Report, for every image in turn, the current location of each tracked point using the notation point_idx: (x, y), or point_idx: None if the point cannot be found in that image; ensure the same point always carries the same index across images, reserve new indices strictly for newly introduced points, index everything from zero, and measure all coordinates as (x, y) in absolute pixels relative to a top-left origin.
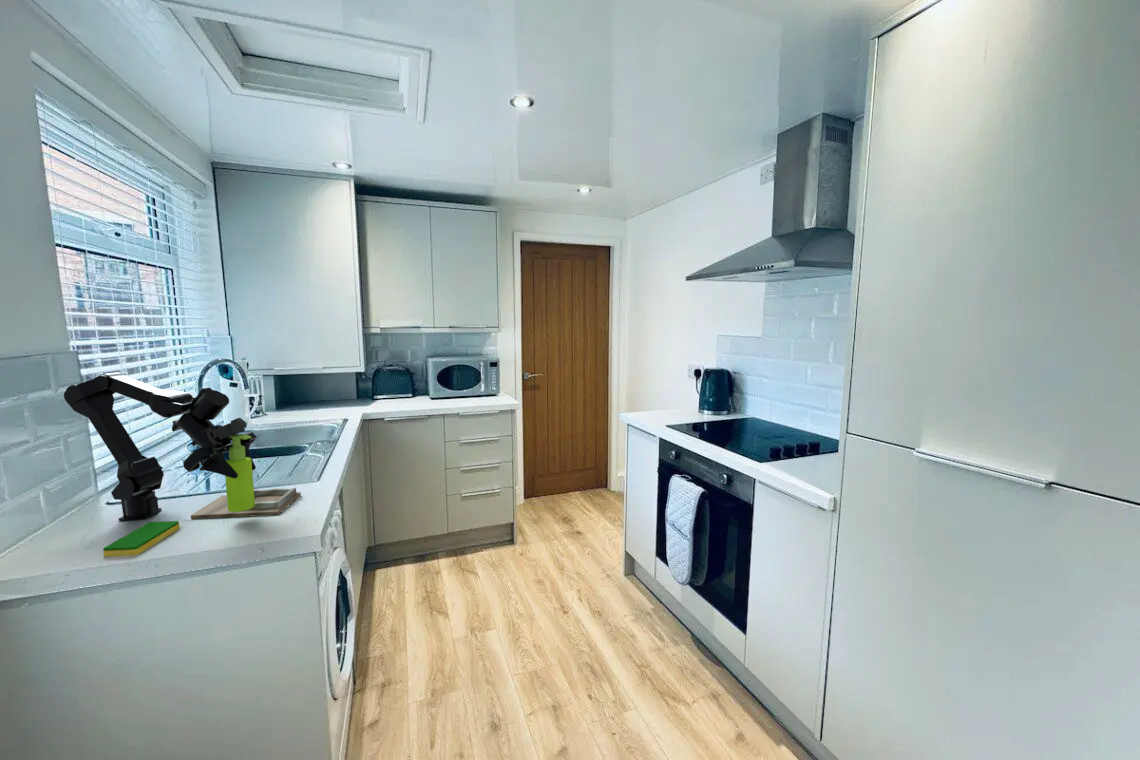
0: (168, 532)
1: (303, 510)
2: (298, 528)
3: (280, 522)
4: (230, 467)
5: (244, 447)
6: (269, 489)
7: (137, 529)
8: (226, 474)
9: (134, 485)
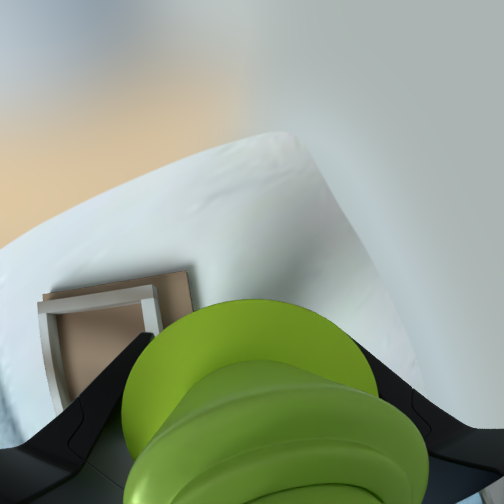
0: None
1: (153, 217)
2: (271, 166)
3: (240, 232)
4: (379, 382)
5: (211, 404)
6: (52, 388)
7: None
8: None
9: None
